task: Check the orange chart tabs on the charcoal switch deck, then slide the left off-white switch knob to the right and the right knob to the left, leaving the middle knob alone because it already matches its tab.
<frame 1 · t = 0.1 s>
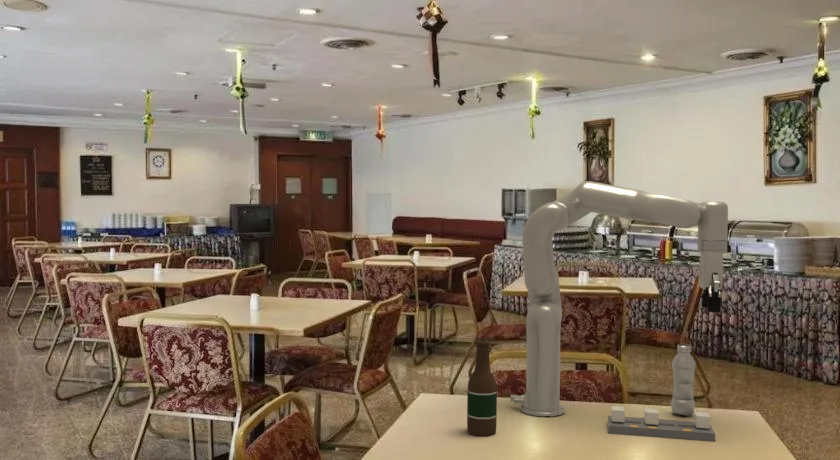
hand: (710, 309, 202), 31 cm above the table, tool pointing down, fingers open, 9 cm apart
plastic bottle: (682, 415, 211), on the table
beer bottle: (481, 433, 192), on the table
switch deck: (659, 431, 194), on the table
slider a: (618, 414, 196), point 4 cm above the table, slide at -2.0 cm
slider b: (651, 416, 194), point 4 cm above the table, slide at -2.0 cm
slider c: (701, 419, 192), point 4 cm above the table, slide at 2.0 cm
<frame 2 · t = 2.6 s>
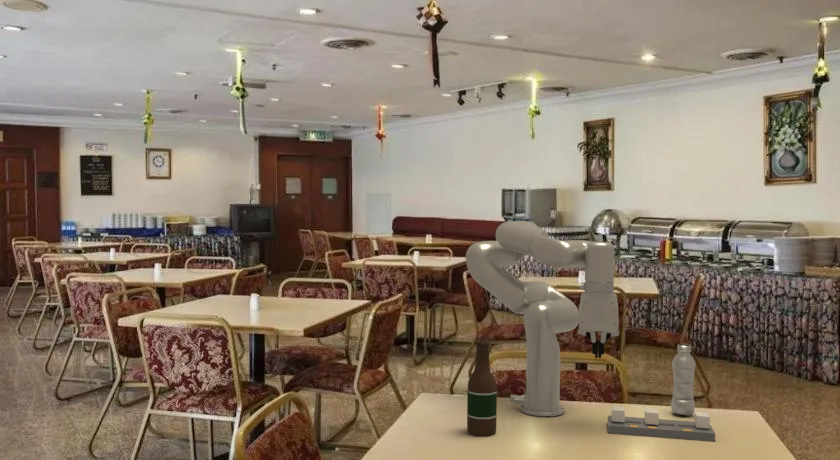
hand: (598, 357, 197), 19 cm above the table, tool pointing down, fingers closed
nothing on the table moved.
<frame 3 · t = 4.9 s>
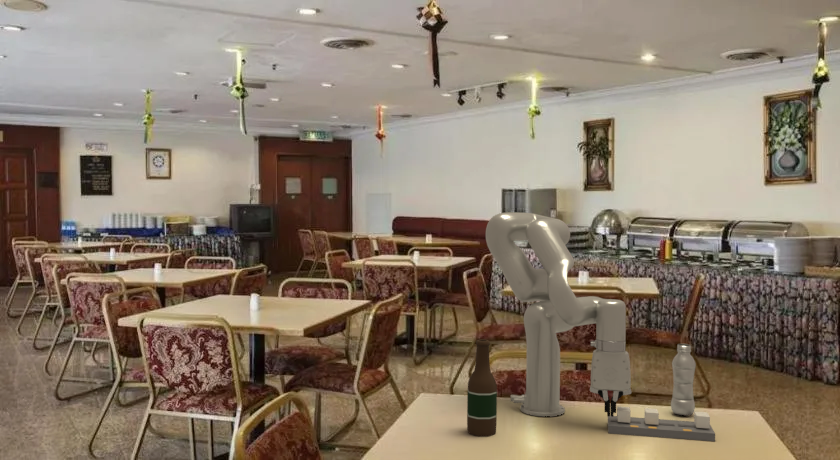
hand: (610, 415, 197), 4 cm above the table, tool pointing down, fingers closed
slider a: (623, 414, 196), point 4 cm above the table, slide at -0.5 cm, touching gripper
everything else where it was.
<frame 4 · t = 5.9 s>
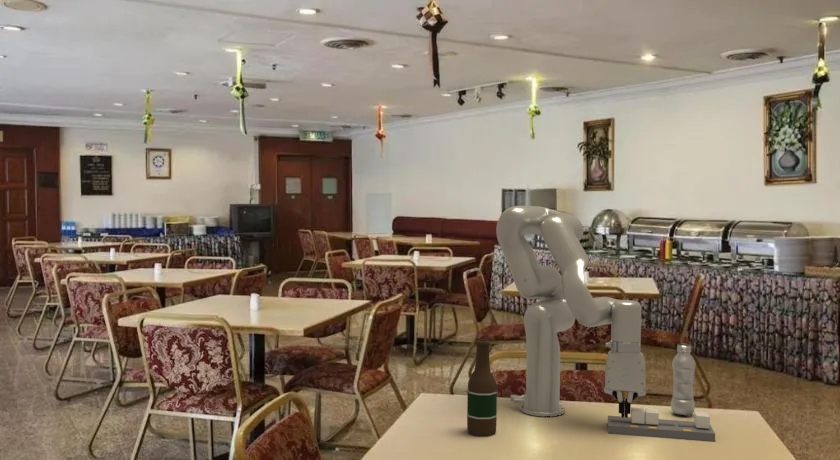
hand: (624, 416, 196), 3 cm above the table, tool pointing down, fingers closed
slider a: (637, 415, 195), point 4 cm above the table, slide at 3.0 cm, touching gripper
everything else where it was.
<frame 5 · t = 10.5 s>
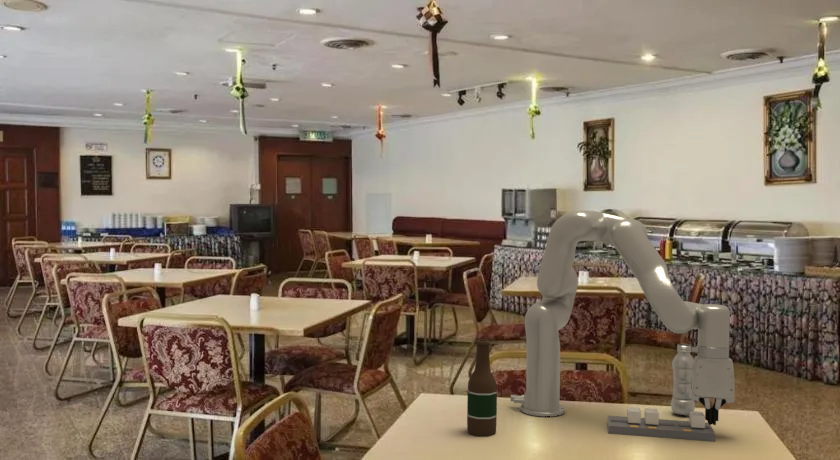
hand: (711, 423, 191), 3 cm above the table, tool pointing down, fingers closed
slider a: (633, 415, 195), point 4 cm above the table, slide at 2.1 cm
slider c: (697, 419, 192), point 4 cm above the table, slide at 0.8 cm, touching gripper
everything else where it was.
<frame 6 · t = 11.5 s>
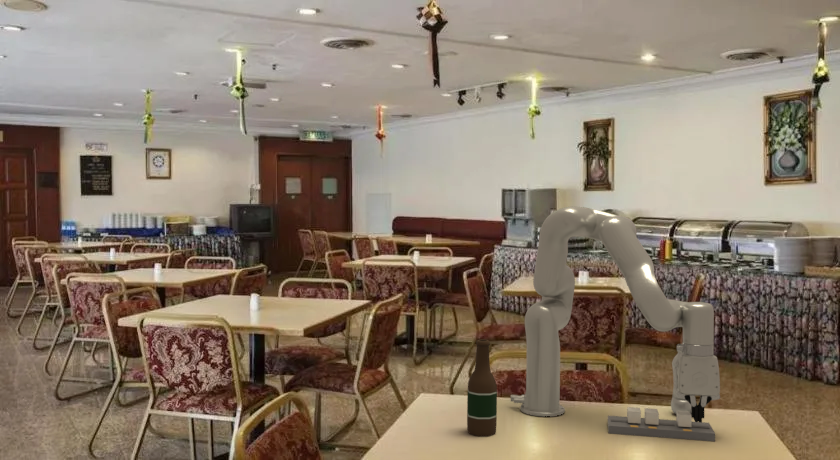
hand: (697, 420, 192), 4 cm above the table, tool pointing down, fingers closed
slider c: (683, 418, 193), point 4 cm above the table, slide at -2.4 cm, touching gripper
everything else where it was.
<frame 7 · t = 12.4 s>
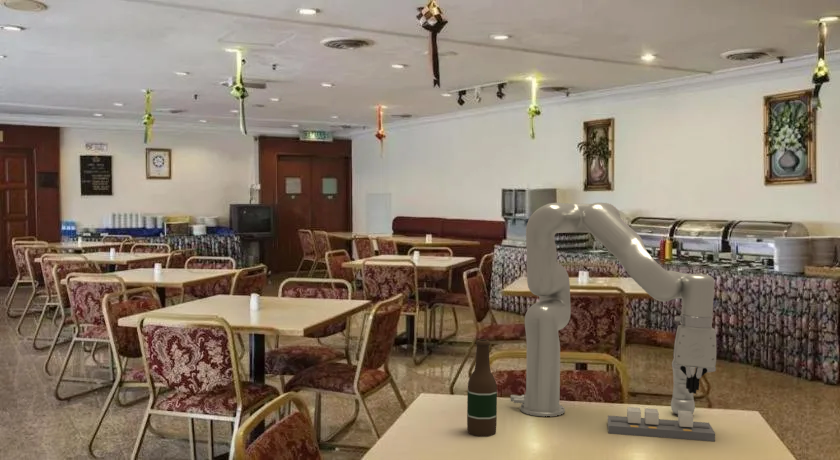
hand: (692, 392, 192), 11 cm above the table, tool pointing down, fingers closed
slider c: (685, 418, 193), point 4 cm above the table, slide at -2.1 cm
everything else where it was.
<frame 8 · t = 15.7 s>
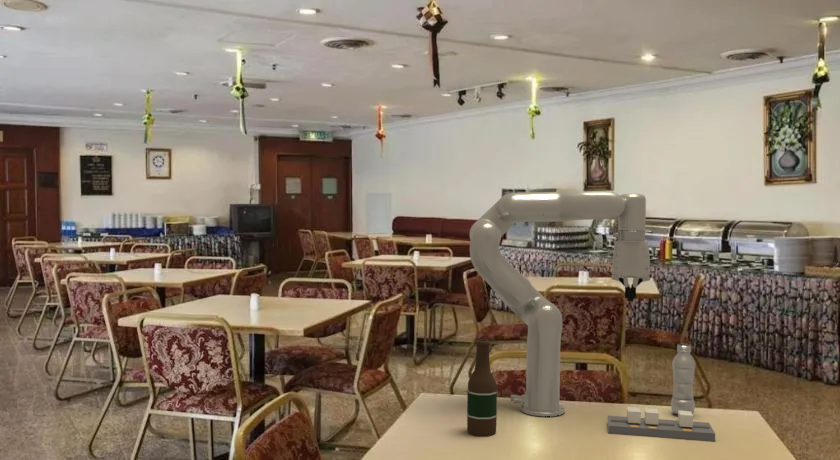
hand: (630, 300, 212), 32 cm above the table, tool pointing down, fingers closed
nothing on the table moved.
at the end: slider a slide at 2.1 cm; slider b slide at -2.0 cm; slider c slide at -2.1 cm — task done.
